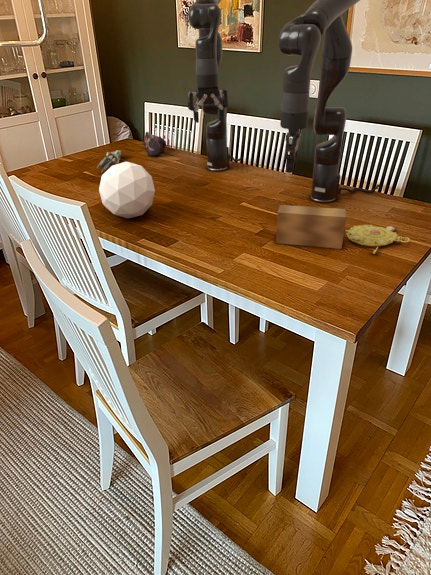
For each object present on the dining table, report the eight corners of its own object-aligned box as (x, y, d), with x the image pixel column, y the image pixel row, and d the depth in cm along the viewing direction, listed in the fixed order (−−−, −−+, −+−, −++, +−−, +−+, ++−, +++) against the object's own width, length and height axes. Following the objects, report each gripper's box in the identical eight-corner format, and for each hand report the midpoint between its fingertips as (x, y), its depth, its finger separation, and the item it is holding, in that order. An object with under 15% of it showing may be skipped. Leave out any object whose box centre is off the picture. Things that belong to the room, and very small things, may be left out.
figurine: (101, 154, 197) (119, 141, 223) (91, 167, 200) (110, 152, 227) (114, 165, 199) (130, 151, 225) (103, 178, 203) (121, 162, 229)
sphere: (119, 231, 167) (91, 184, 164) (165, 204, 169) (137, 158, 167) (116, 226, 148) (83, 173, 146) (167, 196, 150) (136, 144, 148)
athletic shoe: (152, 146, 217) (175, 145, 222) (140, 122, 229) (162, 121, 233) (150, 166, 226) (172, 164, 230) (139, 141, 238) (160, 140, 242)
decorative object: (355, 216, 152) (417, 225, 142) (354, 223, 153) (416, 232, 143) (334, 239, 137) (402, 251, 127) (334, 247, 138) (401, 259, 128)
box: (341, 240, 141) (346, 209, 135) (341, 248, 136) (346, 217, 130) (278, 235, 145) (279, 204, 140) (275, 243, 140) (277, 212, 135)
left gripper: (189, 75, 148) (192, 125, 157) (229, 72, 151) (230, 121, 160) (184, 72, 154) (187, 121, 163) (223, 69, 157) (223, 117, 166)
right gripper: (284, 103, 127) (281, 159, 136) (277, 114, 116) (275, 174, 124) (310, 104, 126) (305, 161, 134) (306, 114, 114) (301, 176, 123)
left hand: (208, 121), depth 161 cm, fingers open, 8 cm apart
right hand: (291, 167), depth 129 cm, fingers open, 8 cm apart
